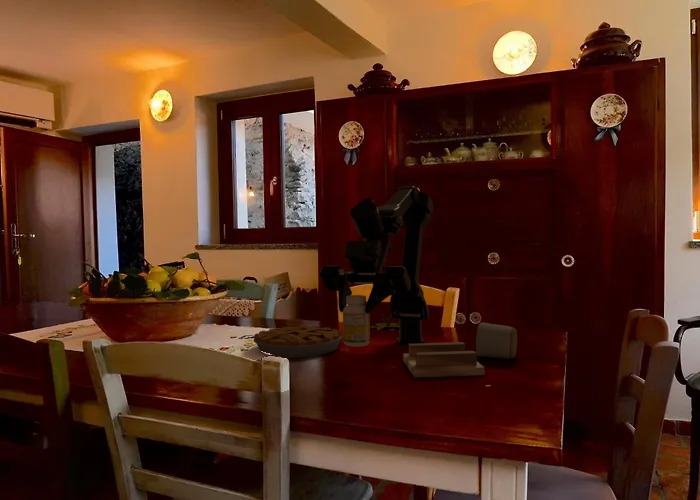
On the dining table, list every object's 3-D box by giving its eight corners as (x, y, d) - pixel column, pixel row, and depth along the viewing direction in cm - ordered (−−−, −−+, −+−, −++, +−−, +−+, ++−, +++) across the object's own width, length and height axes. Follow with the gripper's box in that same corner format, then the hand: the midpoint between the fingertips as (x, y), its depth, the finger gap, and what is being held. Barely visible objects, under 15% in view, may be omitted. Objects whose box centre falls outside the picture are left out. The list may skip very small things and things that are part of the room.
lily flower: (415, 327, 156) (415, 312, 156) (393, 334, 147) (393, 318, 146) (382, 324, 163) (382, 309, 163) (360, 330, 154) (360, 315, 154)
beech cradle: (403, 360, 114) (402, 342, 114) (464, 358, 115) (464, 340, 115) (414, 377, 100) (414, 357, 100) (484, 375, 101) (484, 354, 101)
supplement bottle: (358, 348, 99) (357, 298, 98) (337, 344, 102) (336, 296, 102) (375, 343, 103) (374, 295, 102) (355, 339, 106) (354, 293, 106)
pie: (286, 365, 112) (286, 342, 112) (237, 349, 129) (237, 330, 129) (360, 349, 127) (359, 329, 127) (307, 337, 143) (307, 319, 143)
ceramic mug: (513, 362, 110) (513, 327, 110) (475, 359, 114) (475, 325, 113) (520, 353, 120) (519, 320, 119) (484, 350, 123) (484, 318, 123)
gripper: (322, 227, 109) (297, 284, 100) (405, 225, 101) (386, 287, 92) (339, 262, 117) (317, 318, 107) (418, 262, 109) (401, 323, 99)
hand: (353, 311), depth 101 cm, fingers closed on supplement bottle, 5 cm apart
